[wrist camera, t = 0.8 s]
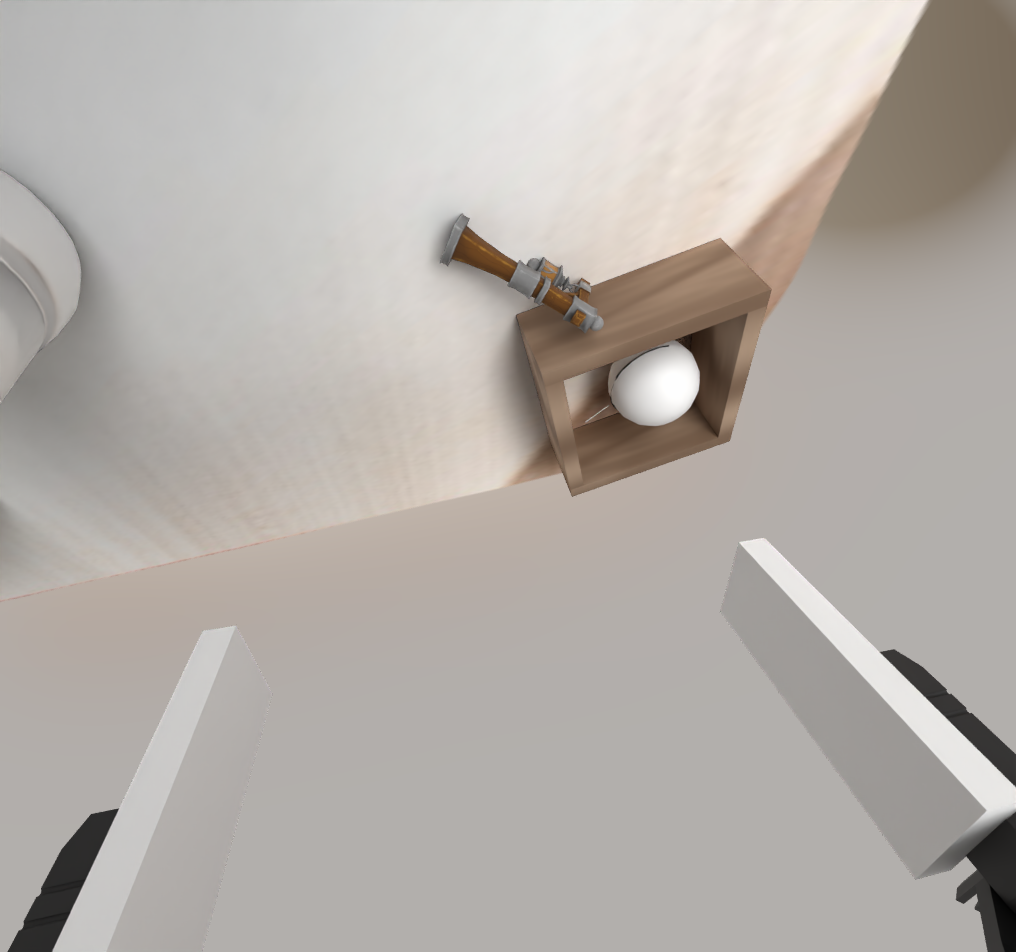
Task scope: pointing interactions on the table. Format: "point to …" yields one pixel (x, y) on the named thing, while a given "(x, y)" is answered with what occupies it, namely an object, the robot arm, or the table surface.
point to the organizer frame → (641, 326)
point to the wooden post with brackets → (525, 276)
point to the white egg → (654, 384)
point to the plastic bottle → (32, 279)
